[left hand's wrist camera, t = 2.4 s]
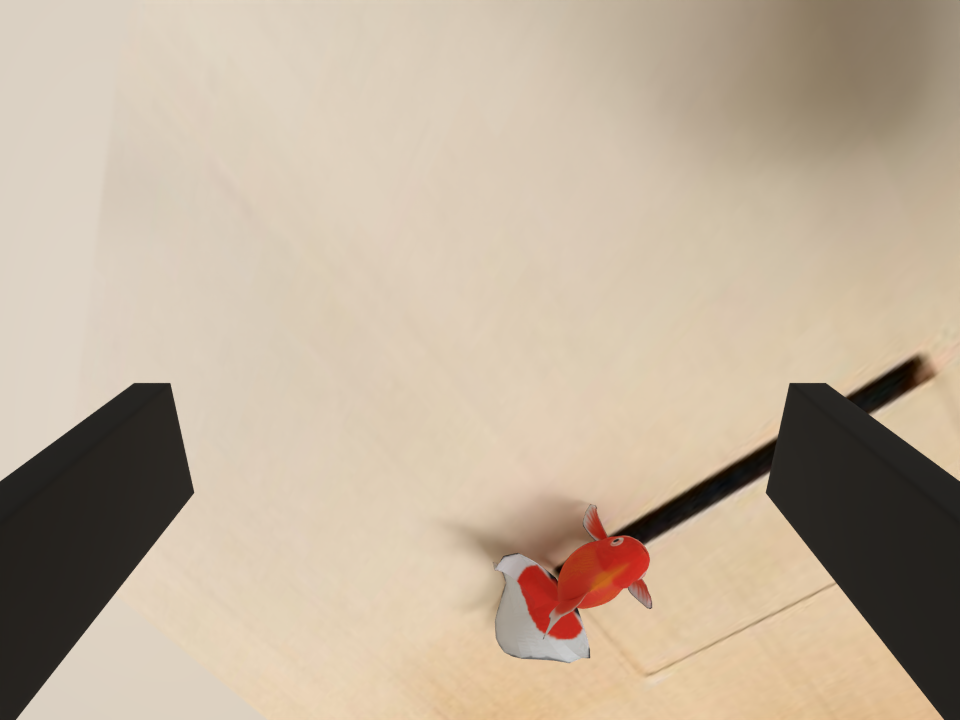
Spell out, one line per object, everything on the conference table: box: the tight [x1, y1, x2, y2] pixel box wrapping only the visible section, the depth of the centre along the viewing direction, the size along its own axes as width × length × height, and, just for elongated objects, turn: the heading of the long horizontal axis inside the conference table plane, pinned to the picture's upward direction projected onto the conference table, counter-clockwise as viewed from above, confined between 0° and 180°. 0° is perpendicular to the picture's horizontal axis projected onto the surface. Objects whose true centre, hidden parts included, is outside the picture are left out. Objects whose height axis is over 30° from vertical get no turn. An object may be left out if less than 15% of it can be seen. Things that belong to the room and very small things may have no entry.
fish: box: [493, 504, 652, 663], centre depth 44 cm, size 11×16×10 cm
